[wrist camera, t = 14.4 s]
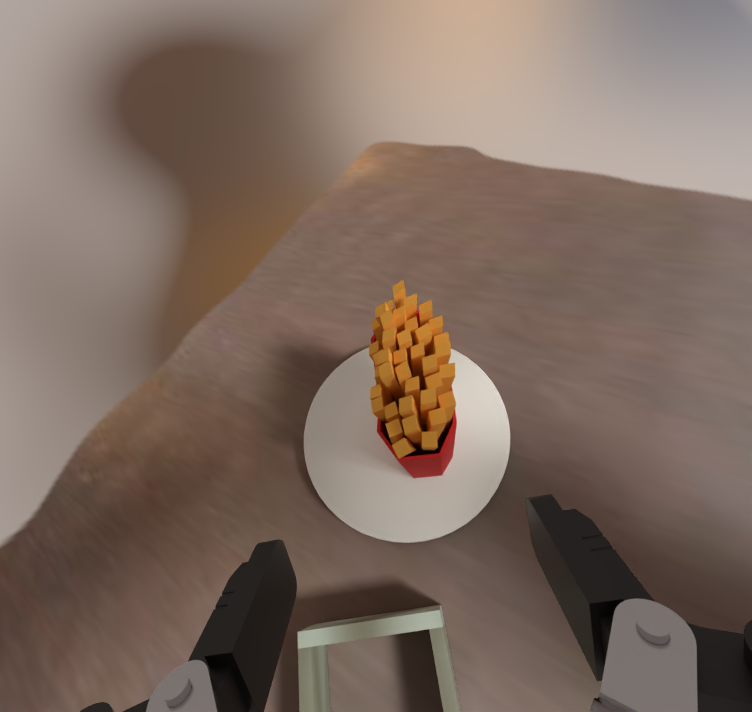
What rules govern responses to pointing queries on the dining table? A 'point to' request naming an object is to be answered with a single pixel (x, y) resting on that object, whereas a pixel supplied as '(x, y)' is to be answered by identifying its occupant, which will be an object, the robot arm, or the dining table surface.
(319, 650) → the open rectangular box
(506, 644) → the dining table surface
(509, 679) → the dining table surface
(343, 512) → the ceramic plate
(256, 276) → the dining table surface
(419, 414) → the french fries
